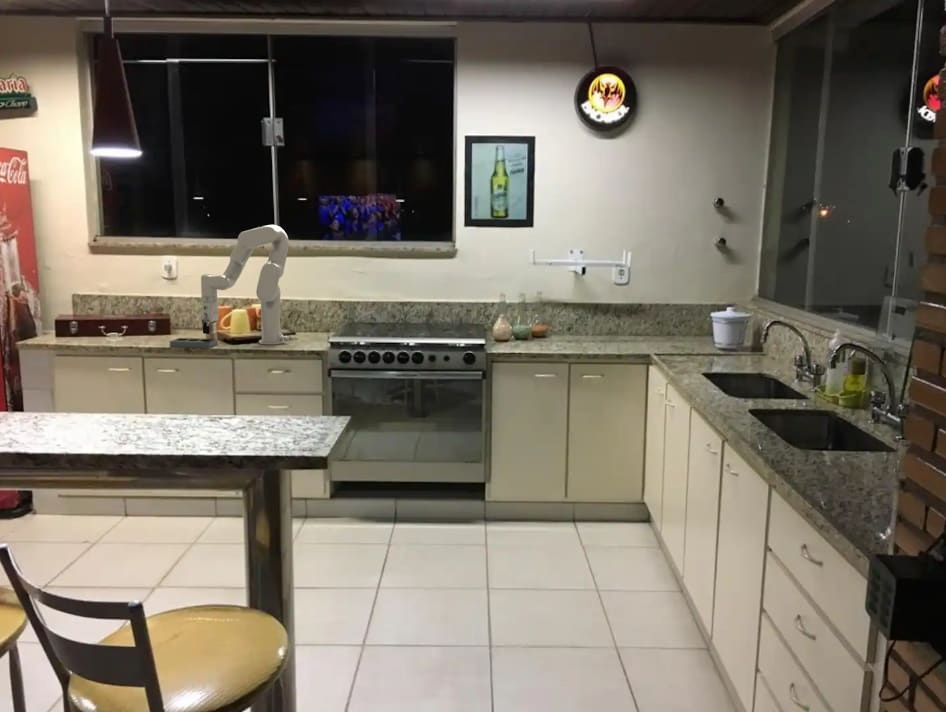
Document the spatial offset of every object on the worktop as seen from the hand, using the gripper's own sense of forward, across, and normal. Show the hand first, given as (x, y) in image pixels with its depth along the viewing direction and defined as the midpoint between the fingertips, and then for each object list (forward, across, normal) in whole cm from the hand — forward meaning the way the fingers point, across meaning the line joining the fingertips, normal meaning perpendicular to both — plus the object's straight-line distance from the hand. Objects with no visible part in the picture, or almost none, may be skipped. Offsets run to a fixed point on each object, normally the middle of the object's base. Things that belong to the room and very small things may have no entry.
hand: (210, 332), depth 394 cm
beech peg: (+5, 0, -1) cm, 5 cm away
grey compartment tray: (+5, -12, +3) cm, 13 cm away
